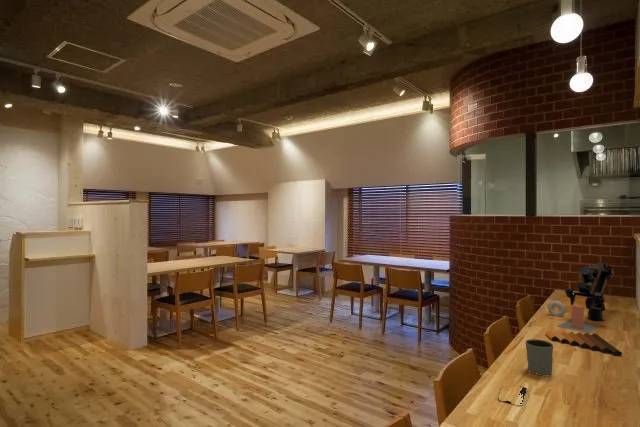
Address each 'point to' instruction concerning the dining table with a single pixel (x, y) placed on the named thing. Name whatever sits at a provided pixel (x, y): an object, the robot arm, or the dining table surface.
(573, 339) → the pan flute
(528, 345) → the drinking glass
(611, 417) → the dining table surface
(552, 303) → the donut
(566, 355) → the dining table surface
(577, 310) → the tall box
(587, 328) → the mat
